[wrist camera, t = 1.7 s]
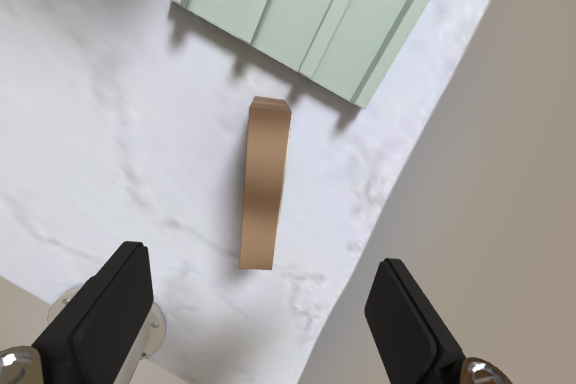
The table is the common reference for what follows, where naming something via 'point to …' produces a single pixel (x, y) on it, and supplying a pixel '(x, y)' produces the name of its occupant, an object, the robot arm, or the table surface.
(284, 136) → the long brown rectangular block
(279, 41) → the display rail
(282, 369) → the table surface
